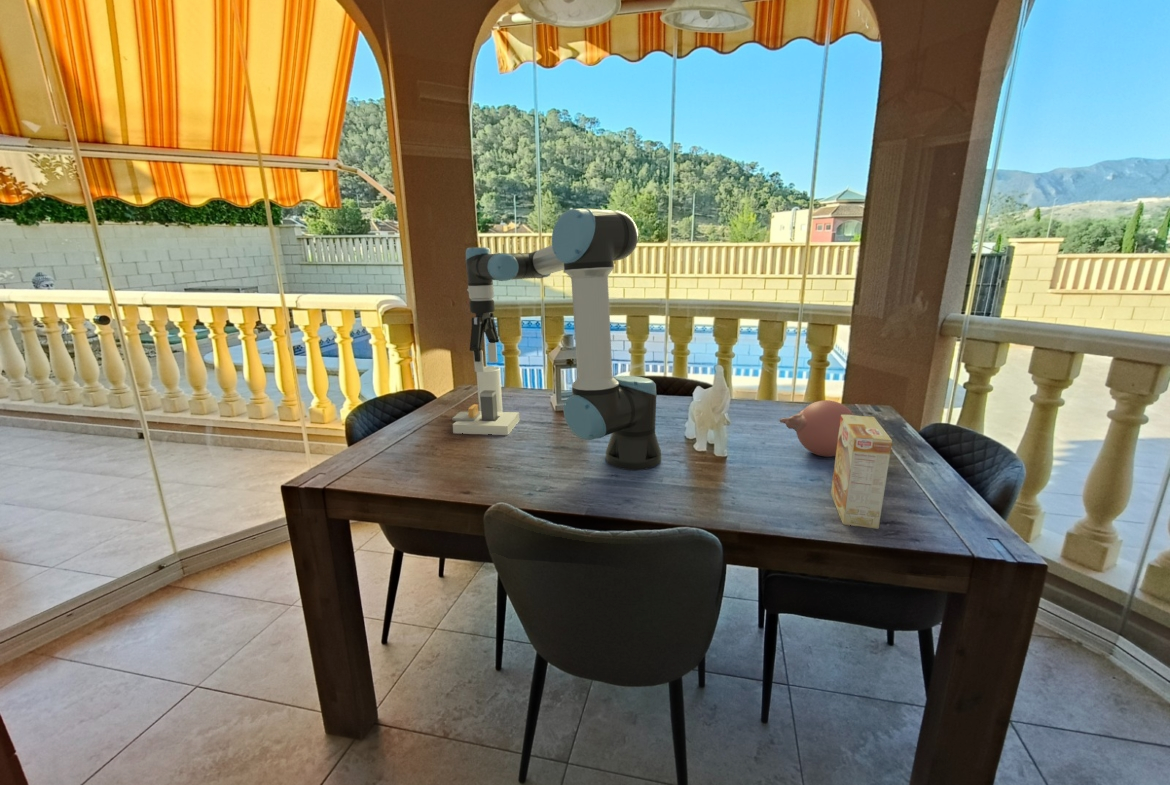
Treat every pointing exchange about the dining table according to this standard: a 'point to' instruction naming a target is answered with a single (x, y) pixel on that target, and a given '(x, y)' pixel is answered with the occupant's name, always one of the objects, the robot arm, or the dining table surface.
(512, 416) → the socket plate
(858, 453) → the coffeecake box
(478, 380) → the cup
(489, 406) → the plug
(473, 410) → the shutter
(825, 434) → the pomegranate
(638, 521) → the dining table surface
